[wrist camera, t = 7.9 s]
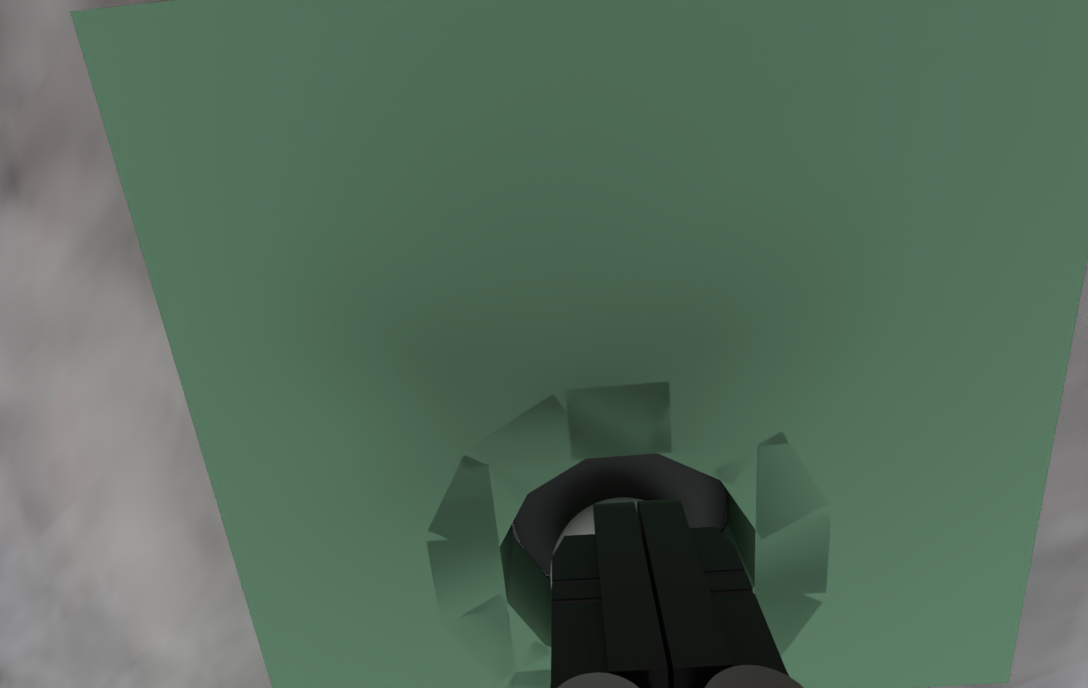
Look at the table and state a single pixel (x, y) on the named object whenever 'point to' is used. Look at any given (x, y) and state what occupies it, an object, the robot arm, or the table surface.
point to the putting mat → (612, 307)
